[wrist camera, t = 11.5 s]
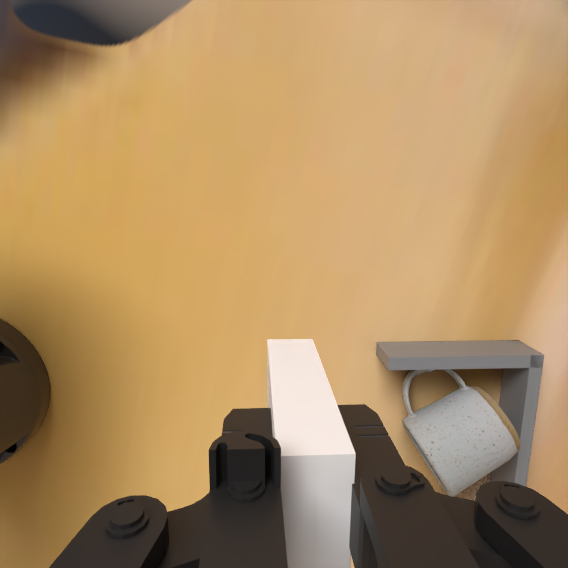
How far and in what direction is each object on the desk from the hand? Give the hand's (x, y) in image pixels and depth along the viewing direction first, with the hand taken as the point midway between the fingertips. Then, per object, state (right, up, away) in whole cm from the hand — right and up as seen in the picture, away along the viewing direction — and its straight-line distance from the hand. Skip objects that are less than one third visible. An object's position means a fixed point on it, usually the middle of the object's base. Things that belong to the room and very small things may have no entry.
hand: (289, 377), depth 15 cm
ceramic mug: (+15, -9, +30) cm, 35 cm away
